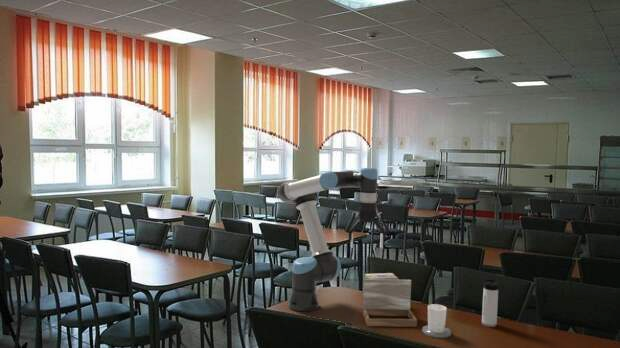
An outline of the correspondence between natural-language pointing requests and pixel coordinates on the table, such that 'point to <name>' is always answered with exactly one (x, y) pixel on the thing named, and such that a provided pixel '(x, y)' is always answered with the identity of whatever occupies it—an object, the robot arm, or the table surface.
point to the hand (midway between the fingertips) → (366, 247)
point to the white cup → (436, 318)
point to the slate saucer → (436, 335)
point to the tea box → (381, 276)
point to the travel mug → (490, 303)
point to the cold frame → (388, 302)
